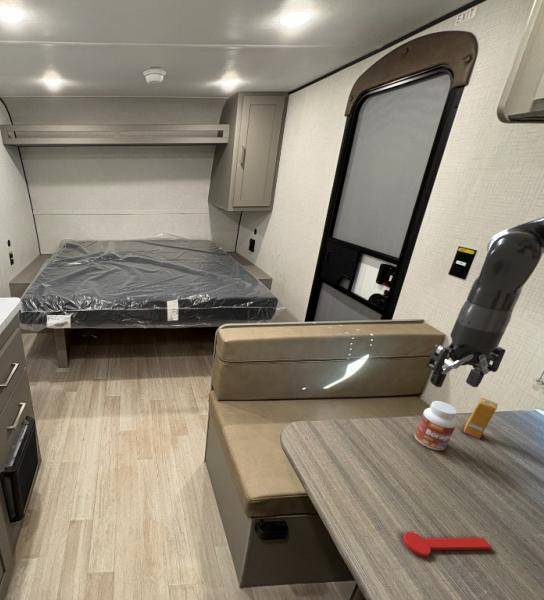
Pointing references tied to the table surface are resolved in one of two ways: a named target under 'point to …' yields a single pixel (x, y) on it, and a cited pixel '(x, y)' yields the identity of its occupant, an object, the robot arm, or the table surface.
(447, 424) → the pill bottle
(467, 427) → the supplement box
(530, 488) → the table surface
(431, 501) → the table surface
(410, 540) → the spoon
